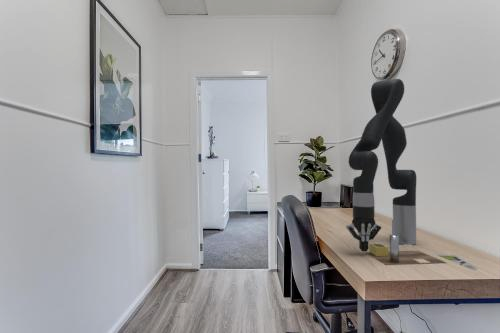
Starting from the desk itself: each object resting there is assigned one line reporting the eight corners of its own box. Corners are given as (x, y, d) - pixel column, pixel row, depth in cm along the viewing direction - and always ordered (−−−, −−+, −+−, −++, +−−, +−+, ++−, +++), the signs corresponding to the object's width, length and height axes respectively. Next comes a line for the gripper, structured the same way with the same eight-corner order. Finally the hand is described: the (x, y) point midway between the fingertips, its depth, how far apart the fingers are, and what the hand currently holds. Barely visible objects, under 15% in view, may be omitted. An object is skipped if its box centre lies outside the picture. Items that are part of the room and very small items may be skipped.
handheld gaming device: (449, 266, 90) (429, 253, 105) (449, 269, 90) (429, 255, 105) (479, 268, 89) (455, 254, 103) (479, 270, 89) (455, 256, 103)
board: (364, 256, 103) (364, 252, 103) (418, 254, 105) (418, 250, 105) (385, 269, 89) (385, 265, 89) (447, 267, 91) (447, 262, 91)
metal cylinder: (388, 260, 94) (387, 234, 94) (395, 260, 94) (395, 234, 94) (393, 263, 91) (392, 236, 91) (400, 262, 91) (400, 236, 91)
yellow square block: (369, 252, 103) (369, 242, 103) (380, 251, 103) (380, 242, 103) (376, 256, 98) (376, 246, 98) (388, 255, 98) (388, 246, 98)
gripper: (374, 203, 104) (375, 247, 104) (342, 203, 103) (342, 248, 103) (386, 205, 97) (386, 253, 97) (350, 206, 96) (351, 254, 96)
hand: (363, 250), depth 100 cm, fingers closed
